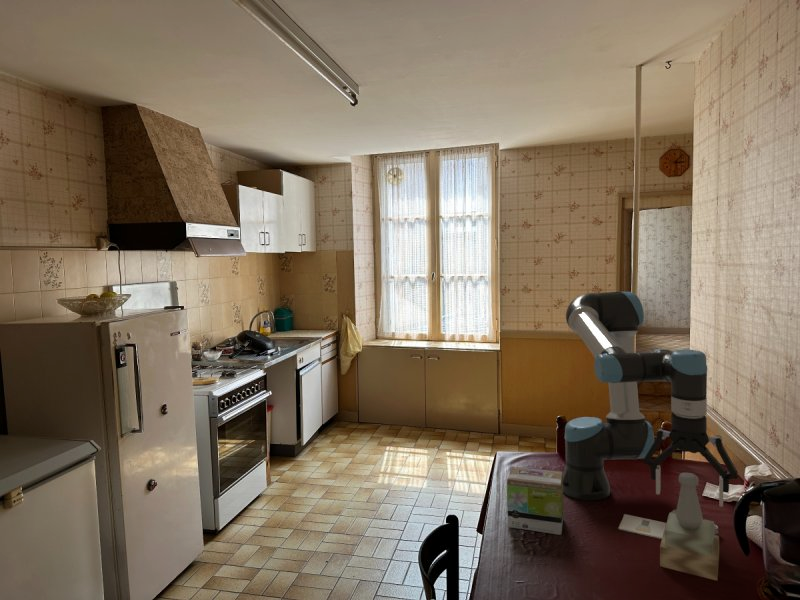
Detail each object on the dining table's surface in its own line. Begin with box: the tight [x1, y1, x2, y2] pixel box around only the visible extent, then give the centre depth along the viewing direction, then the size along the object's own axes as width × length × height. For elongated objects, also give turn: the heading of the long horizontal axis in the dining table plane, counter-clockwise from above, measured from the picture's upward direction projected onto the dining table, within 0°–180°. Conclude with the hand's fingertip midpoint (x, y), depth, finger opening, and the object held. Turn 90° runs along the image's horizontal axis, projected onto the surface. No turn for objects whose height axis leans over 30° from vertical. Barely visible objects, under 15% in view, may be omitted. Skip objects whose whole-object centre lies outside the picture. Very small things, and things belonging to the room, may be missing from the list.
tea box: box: [506, 466, 564, 536], centre depth 150 cm, size 15×10×15 cm, turn 70°
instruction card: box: [618, 513, 667, 540], centre depth 145 cm, size 12×9×1 cm
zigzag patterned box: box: [659, 512, 720, 581], centre depth 128 cm, size 12×12×9 cm
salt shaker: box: [675, 472, 704, 530], centre depth 128 cm, size 6×6×13 cm
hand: (688, 498), depth 128 cm, fingers open, 13 cm apart
